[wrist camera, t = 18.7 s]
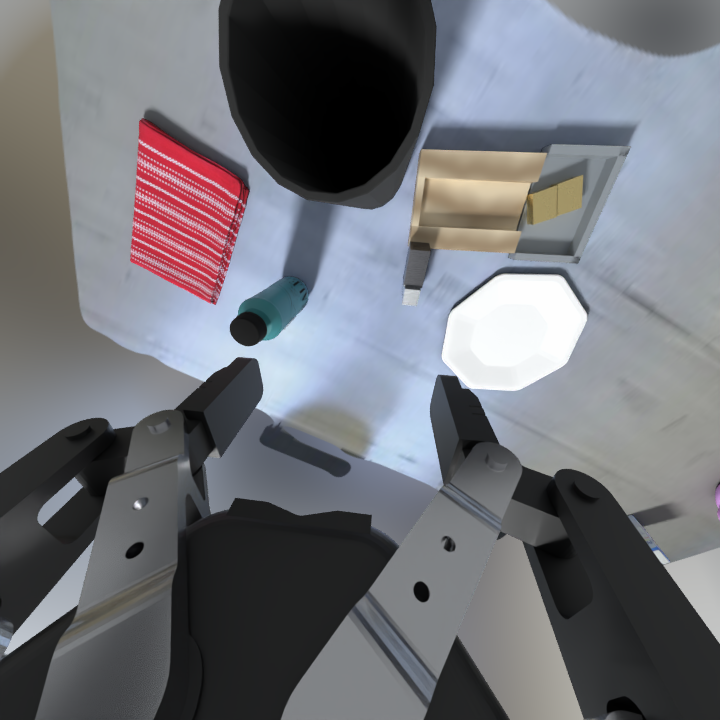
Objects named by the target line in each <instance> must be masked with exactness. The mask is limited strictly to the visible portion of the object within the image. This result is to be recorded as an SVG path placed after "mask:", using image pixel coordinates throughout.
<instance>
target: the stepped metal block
mask: <svg viewBox="0 0 720 720" xmlns="http://www.w3.org/2000/svg"><path fill="white" fill-rule="evenodd" d="M430 253H431V249H430V244H429V243H422V242H411V241H410V243H409V249H408V254H407V260H406V265H405V271H404V276H403V287H402V305H411V306H417V303H418V299H419V295H420V291H421V290H420V288H422V285H423V281H424V277H425V273H426V269H427V265H428V261H429V257H430Z"/></svg>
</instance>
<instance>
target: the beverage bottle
mask: <svg viewBox="0 0 720 720" xmlns="http://www.w3.org/2000/svg"><path fill="white" fill-rule="evenodd" d="M308 294H309V293H308V290H307V288H306V286H305V284H304V283H303V282H302V281H301V280H299V279H298V278H296V277H286V276H285V278H282V279H279V281H277V282H276V283H274V284H273V285H271V286H269V287H268V288H267V289H265V290H263V291H262V292H260V293H258V294H256V295H255V296H253V297H251V298H249V299H247V300H245V301H244V302H243V303H242V304H241V305H240V307H239V310H238V316H237V317H236V318H235V319H234V320H233V321H232V322H231V324H230V332H231V335H232V337H233V338H234V339H235V340H236V341H237V342H238V343H240V344H242V345H244V346H253V345H255V344H257V343H258V342H260V341H262V340H271V339H273V338H275V337H276V336H278V335H279V333H280V332H281V331H282V330H283V329H284V328H285V327H286V326H287V324H289V322H290V321H291V320H293V319H294V317H296V315H297V314H299V313H300V312H301V311H300V310H302V308H303V307H305V306H306V303H307V302H308V300H309V299H308Z"/></svg>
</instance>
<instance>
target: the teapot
mask: <svg viewBox="0 0 720 720" xmlns="http://www.w3.org/2000/svg"><path fill="white" fill-rule="evenodd" d="M715 498H716V504H717V506H718V508H719V509H718V512H717V513H718V518H719V520H720V484H719V486H718V487H717V488H716V491H715Z"/></svg>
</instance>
